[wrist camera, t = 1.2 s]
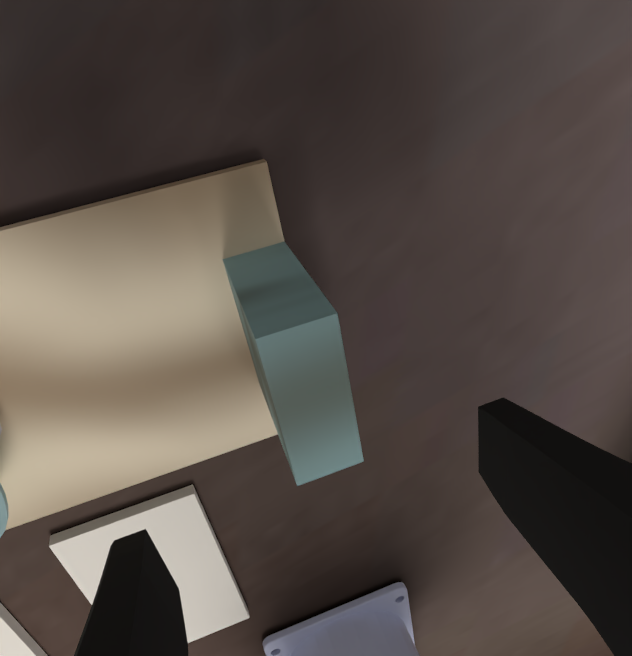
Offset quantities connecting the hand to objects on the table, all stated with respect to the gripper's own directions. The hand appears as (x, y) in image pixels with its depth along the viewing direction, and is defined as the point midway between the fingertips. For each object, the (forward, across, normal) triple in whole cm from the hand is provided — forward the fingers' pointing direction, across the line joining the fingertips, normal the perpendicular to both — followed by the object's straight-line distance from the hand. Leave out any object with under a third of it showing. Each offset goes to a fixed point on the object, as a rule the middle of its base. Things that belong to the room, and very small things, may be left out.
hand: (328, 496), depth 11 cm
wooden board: (+8, +8, 0) cm, 12 cm away
